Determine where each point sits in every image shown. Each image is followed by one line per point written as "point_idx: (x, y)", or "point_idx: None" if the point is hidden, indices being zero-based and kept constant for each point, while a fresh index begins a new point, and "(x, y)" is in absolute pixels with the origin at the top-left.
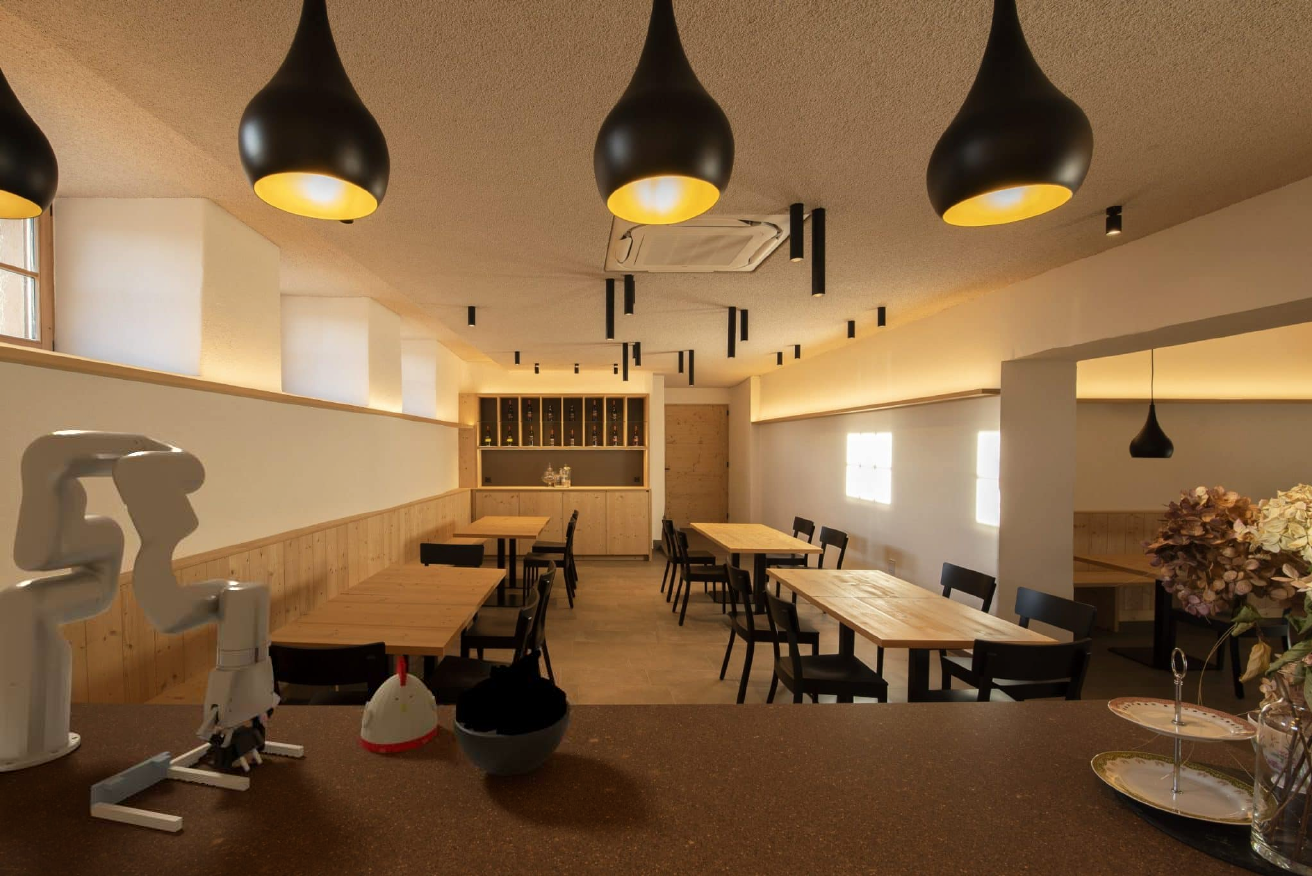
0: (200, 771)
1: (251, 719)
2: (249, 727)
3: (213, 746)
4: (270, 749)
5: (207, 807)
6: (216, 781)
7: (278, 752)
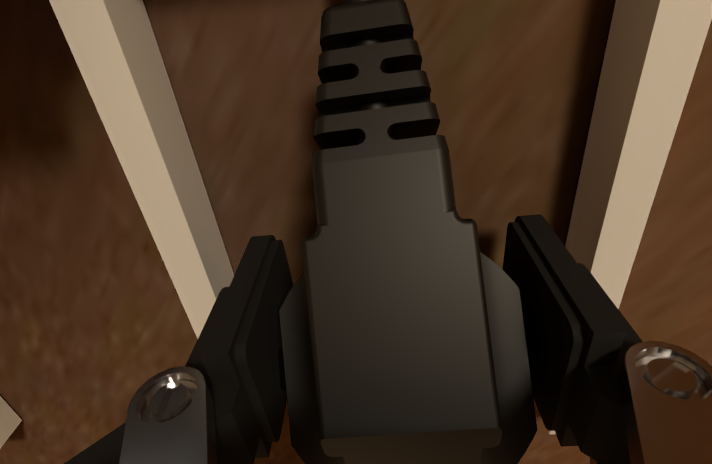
0: (173, 220)
1: (631, 448)
2: (590, 342)
3: (318, 144)
4: None
5: (122, 393)
6: None
7: None
